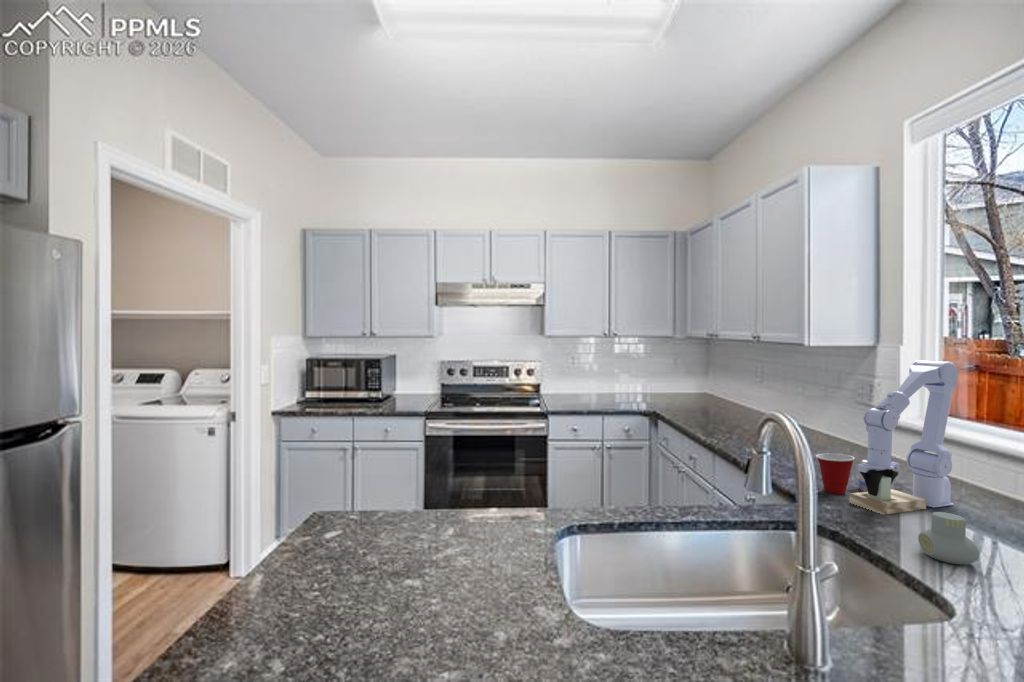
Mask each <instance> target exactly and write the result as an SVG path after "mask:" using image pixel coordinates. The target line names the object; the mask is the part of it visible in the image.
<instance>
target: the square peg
mask: <svg viewBox="0 0 1024 682" xmlns="http://www.w3.org/2000/svg"><path fill="white" fill-rule="evenodd" d="M891 489H892V484H891V478H890V477H886V476H882V478H881V480H880V483H879V488H878V494H877V496H873V495H870V494H869V493H868V491H867V497H868V498H871V499H874V500H877V501H880V502H884V501H891Z"/></svg>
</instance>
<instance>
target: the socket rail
mask: <svg viewBox="0 0 1024 682" xmlns="http://www.w3.org/2000/svg"><path fill="white" fill-rule="evenodd" d="M848 500H849V502H848V503H849V504H850V503H851V505H853V504H854V506H856V505H857V506H856V507H859V506H860V507H859V508H862V507H863V508H862V509H865V508H866V509H865V510H868V509H869V510H868V511H871V510H872V512H874V513H876V514H877V513H878V514H879V513H880V515H890V514H899V513H907V511H908V512H913V510H916V511H921V510H920V509H924V510H927V506H926V499H924V498H921V497H917V496H914V495H913V494H910V493H906V492H903V491H900V490H896V489H894V488H893V489H892V488H891V501H884V502H880V501H877V500H874V499H871V498H868V497H867V492H865V491H861V492H852V493H851V492H850V493H849V499H848Z"/></svg>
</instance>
